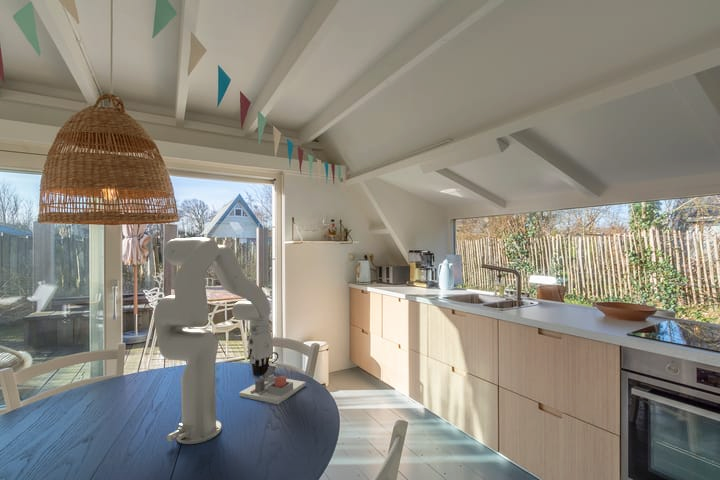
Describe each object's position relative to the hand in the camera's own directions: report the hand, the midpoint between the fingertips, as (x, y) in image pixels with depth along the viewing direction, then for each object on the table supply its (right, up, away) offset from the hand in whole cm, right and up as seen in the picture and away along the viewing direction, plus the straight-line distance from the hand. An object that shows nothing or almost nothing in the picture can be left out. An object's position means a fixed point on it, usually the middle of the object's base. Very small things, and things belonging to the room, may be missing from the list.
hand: (260, 374), depth 140 cm
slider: (+2, -4, -7) cm, 8 cm away
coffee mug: (-3, -6, +17) cm, 19 cm away
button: (+10, -3, -7) cm, 12 cm away
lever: (+2, -3, +4) cm, 5 cm away
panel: (+6, -5, -3) cm, 8 cm away
